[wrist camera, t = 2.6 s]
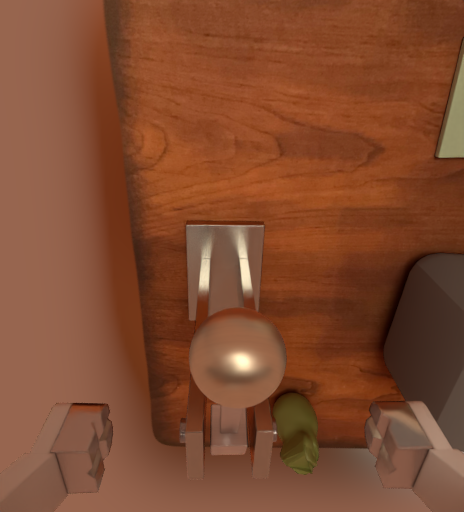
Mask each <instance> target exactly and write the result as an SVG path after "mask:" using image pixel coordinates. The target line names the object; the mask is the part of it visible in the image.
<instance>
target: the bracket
mask: <svg viewBox="0 0 464 512" xmlns="http://www.w3.org/2000/svg"><path fill="white" fill-rule="evenodd" d="M264 230H265V225H264V222H263V221H186V249H187V278H188V306H189V320H190V321H195V331H194V334H195V332H196V331H197V329H198V328H199V326H200V325H201V324H202V323H203V322H204V321H205V320H206V319H207V318H208V317H209V316H211V315H212V314H214V313H216V312H218V311H220V310H223V309H227V308H232V307H243V308H248V309H252V310H255V311H257V312H259V298H260V285H261V271H262V258H263V244H264ZM206 404H207V396H205V395H204V394H203V393H202V391H201V390H200V389H199V388H198V386H197V385H196V383H195V381H194V379H193V377H192V374H190V385H189V396H188V407H187V418H181V421H180V443H186V458H187V478H188V479H204V459H205V431H206ZM247 416H248V428H249V441H250V453H251V465H252V476H253V478H268V475H269V468H270V459H271V451H272V443H273V442H276V440H277V424H276V419H275V418H274V417H272V415H271V408H270V402H269V397H268V398H267V399H265V400H264V401H263V402H261V403H259V404H257V405H254V406H251V407H247Z"/></svg>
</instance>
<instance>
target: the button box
mask: <svg viewBox="0 0 464 512" xmlns="http://www.w3.org/2000/svg"><path fill="white" fill-rule="evenodd" d="M435 156H436V157H438V158H456V157H464V38H463V42H462V46H461V50H460V54H459V58H458V62H457V67H456V71H455V75H454V79H453V83H452V87H451V91H450V96H449V100H448V104H447V108H446V112H445V116H444V120H443V125H442V129H441V133H440V137H439V141H438V145H437V149H436V154H435Z"/></svg>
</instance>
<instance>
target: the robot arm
mask: <svg viewBox="0 0 464 512" xmlns="http://www.w3.org/2000/svg"><path fill="white" fill-rule="evenodd" d="M369 411H370V413H371V416H370V417H369V418H368V419H367V420H366V423H365V439H366V443H367V446H368V449H369V452H370V453H372V454H373V455H374V456H375V457H376V458H377V461H376V465H375V467H376V470H377V472H378V475H379V477H380V479H381V482H382V485H383V487H384V488H405V489H412V490H413V492H414V493H415V494H416V495H417V496H418V497H419V498H420V499H421V500H422V501H423V502H424V503H425V504H426V505H427V506H428V508H429V509H431V511H432V512H464V454H463V453H462V452H461V451H460V450H458V449H452V447H451V445H450V444H449V442H448V441H447V439H446V437H445V436H444V434H443V432H442V431H441V429H440V428H439V426H438V424H437V423H436V421H435V419H434V418H433V416H432V415H431V413H430V411H429V410H428V408H427V406H426V405H425V404H424V403H423V402H422V401H375V402H372V403H371V405H370V408H369ZM109 413H110V410H109V406H108V404H97V403H56V404H55V405H54V406H53V407H52V409H51V411H50V413H49V415H48V417H47V419H46V421H45V423H44V425H43V427H42V429H41V431H40V433H39V435H38V437H37V439H36V441H35V443H34V445H33V447H32V449H31V451H30V453H25V454H23V455H22V456H21V457H20V458H18V459H17V460H16V461H15V462H13V463H12V464H11V465H10V466H9V467H7V468H6V469H5V470H4V471H3V472H2V473H0V512H54V511H55V510H56V509H57V508H58V506H59V505H60V504H61V503H62V502H63V501H64V499H65V498H66V497H67V496H68V495H67V494H71V493H93V492H98V490H99V487H100V484H101V480H102V477H103V473H104V470H105V469H104V464H103V460H104V459H105V458H106V457H107V456H108V455H109V452H110V448H111V444H112V436H113V426H112V422H111V421H110V420H109V419H108V416H109Z"/></svg>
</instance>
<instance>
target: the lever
mask: <svg viewBox="0 0 464 512" xmlns="http://www.w3.org/2000/svg"><path fill="white" fill-rule="evenodd" d="M286 360H287V359H286V348H285V344H284V341H283V338H282V336H281V334H280V332H279V330H278V329H277V327H276V326H275V325H274V324H273V323H272V321H271V320H269V319H268V318H267V317H266V316H264V315H263V314H261V313H259V312H257V311H255V310H252V309H248V308H243V307H232V308H227V309H223V310H220V311H218V312H216V313H214V314H212V315H211V316H209V317H208V318H207V319H206V320H205V321H204V322H203V323H202V324H201V325H200V326H199V328H198V329H197V331H196V332H195V334H194V336H193V339H192V341H191V345H190V350H189V365H190V370H191V374H192V377H193V379H194V381H195V383H196V385H197V386H198V388H199V389H200V390H201V391H202V393H203V394H204V395H205V396H207V397H208V398H209V399H210V400H212V401H213V402H215V403H217V404H212V405H211V434H210V449H211V455H239V454H240V455H242V454H245V452H246V449H247V446H248V435H247V410H246V408H247V407H251V406H254V405H257V404H259V403H261V402H263V401H264V400H265V399H267V398H268V397H269V396H270V395H271V394H272V393H273V392H274V391H275V390H276V389H277V387H278V386H279V384H280V382H281V380H282V378H283V375H284V372H285V368H286Z"/></svg>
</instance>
